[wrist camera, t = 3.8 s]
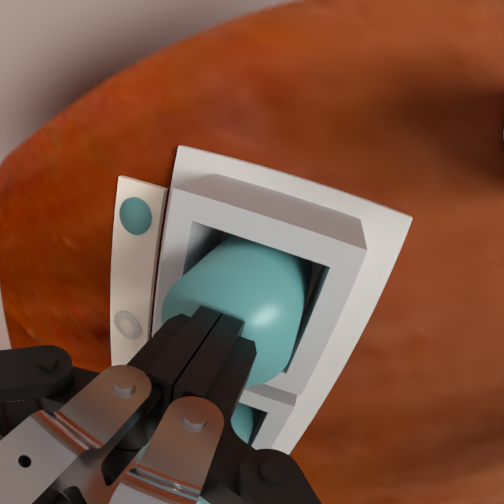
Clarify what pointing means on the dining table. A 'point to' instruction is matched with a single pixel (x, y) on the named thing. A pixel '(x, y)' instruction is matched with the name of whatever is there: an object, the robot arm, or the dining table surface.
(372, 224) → the board
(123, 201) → the card
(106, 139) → the dining table surface
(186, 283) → the button
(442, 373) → the dining table surface
